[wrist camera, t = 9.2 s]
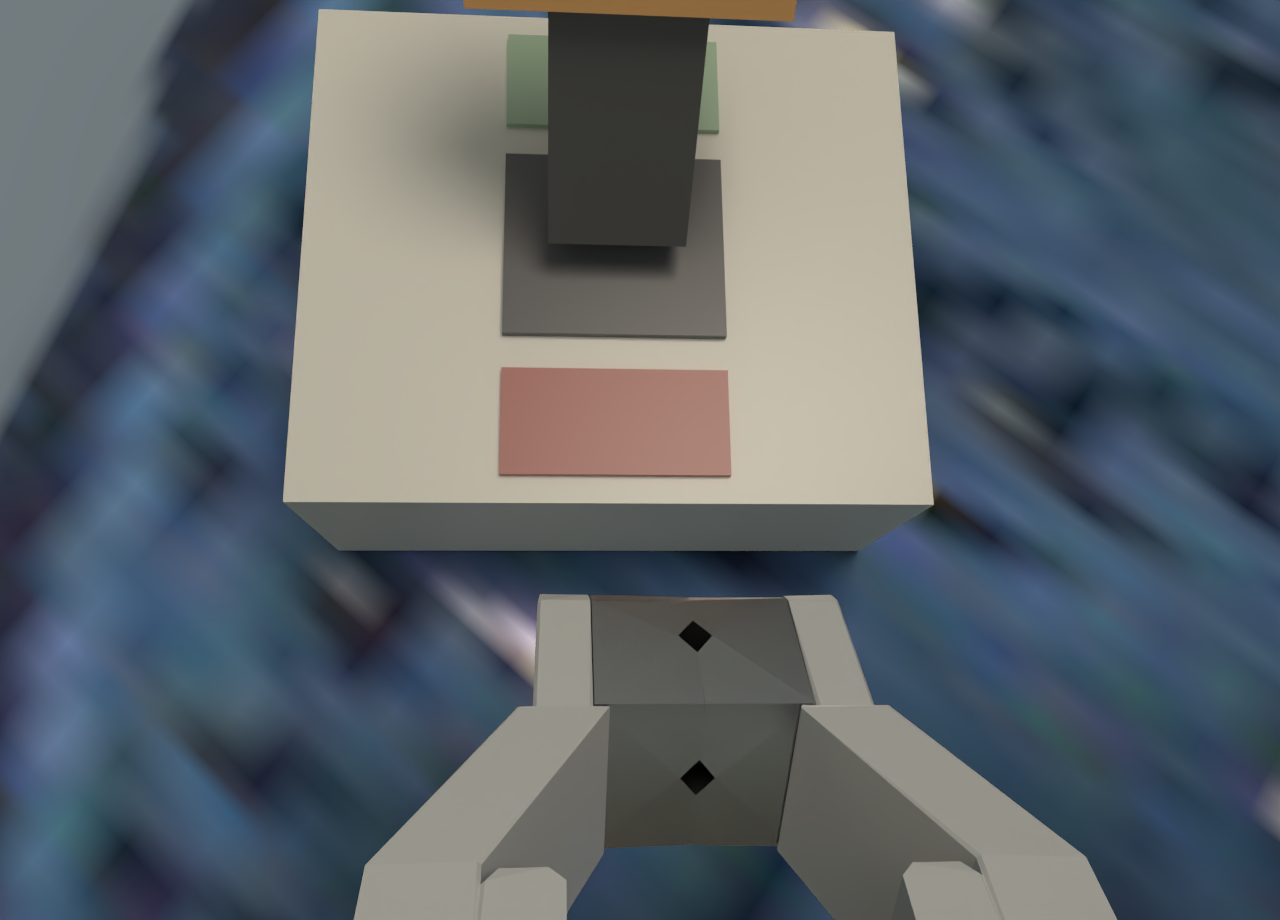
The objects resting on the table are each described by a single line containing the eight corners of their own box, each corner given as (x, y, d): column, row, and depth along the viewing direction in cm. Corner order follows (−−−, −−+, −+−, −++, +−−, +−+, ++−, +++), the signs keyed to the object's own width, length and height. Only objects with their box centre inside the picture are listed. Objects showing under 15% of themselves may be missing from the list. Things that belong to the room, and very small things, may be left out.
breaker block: (858, 550, 29) (936, 502, 23) (330, 550, 28) (270, 499, 22) (833, 158, 32) (896, 26, 26) (355, 144, 31) (308, 3, 25)
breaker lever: (756, 258, 23) (828, -205, 17) (476, 252, 23) (451, -226, 17) (742, 201, 25) (804, -237, 19) (482, 194, 24) (462, -257, 18)
